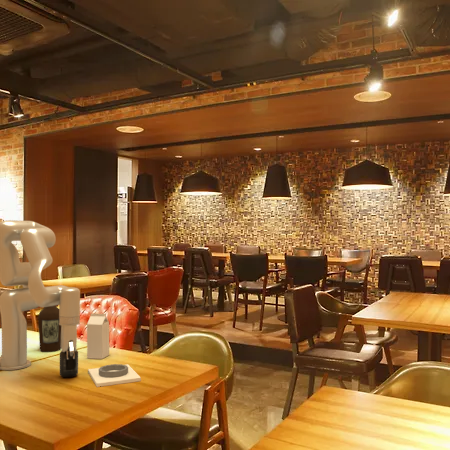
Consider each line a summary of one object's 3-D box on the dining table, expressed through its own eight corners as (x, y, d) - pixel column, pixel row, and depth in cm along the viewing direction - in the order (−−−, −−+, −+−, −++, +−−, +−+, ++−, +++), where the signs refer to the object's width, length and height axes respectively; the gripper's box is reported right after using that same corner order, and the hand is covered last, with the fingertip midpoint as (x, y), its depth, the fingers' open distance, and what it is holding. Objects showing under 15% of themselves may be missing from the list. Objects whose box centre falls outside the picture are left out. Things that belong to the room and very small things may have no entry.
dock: (96, 387, 176) (96, 378, 176) (87, 372, 194) (87, 364, 194) (140, 381, 182) (140, 372, 182) (128, 367, 200) (128, 359, 200)
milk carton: (102, 359, 213) (102, 315, 213) (87, 358, 214) (86, 314, 215) (109, 355, 220) (109, 312, 220) (94, 354, 221) (94, 312, 222)
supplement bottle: (81, 373, 190) (82, 342, 190) (69, 378, 184) (69, 346, 184) (68, 371, 193) (68, 340, 193) (55, 375, 187) (55, 344, 187)
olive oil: (38, 348, 234) (38, 295, 234) (62, 346, 238) (61, 294, 238) (38, 353, 224) (37, 298, 224) (62, 351, 228) (62, 297, 228)
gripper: (56, 316, 195) (56, 361, 195) (61, 325, 179) (61, 374, 179) (76, 315, 198) (75, 359, 198) (83, 323, 182) (82, 372, 182)
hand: (68, 366), depth 189 cm, fingers closed on supplement bottle, 6 cm apart
